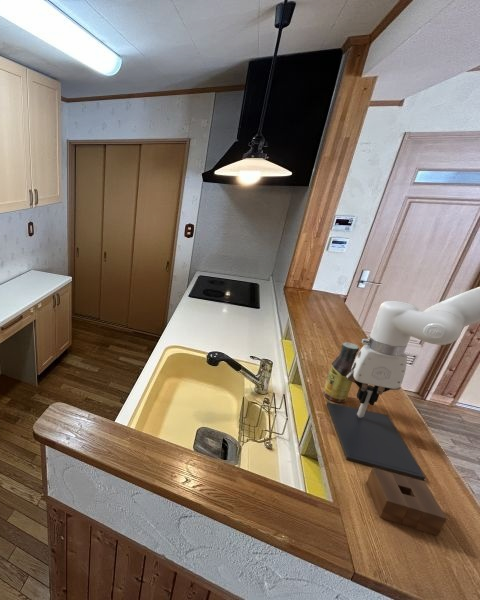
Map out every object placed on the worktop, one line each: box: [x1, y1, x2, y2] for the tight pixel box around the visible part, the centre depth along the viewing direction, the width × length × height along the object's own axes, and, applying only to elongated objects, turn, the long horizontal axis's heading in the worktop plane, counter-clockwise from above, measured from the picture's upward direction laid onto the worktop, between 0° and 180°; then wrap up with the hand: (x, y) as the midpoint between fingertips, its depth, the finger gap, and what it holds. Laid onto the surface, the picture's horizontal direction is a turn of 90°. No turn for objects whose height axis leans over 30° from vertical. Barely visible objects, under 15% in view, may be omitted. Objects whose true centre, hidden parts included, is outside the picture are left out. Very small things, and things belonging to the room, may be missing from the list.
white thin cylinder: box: [357, 384, 374, 418], centre depth 94 cm, size 2×2×11 cm
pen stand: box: [365, 467, 448, 537], centre depth 70 cm, size 9×9×5 cm
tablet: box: [325, 401, 426, 482], centre depth 90 cm, size 15×24×1 cm, turn 154°
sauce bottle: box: [323, 341, 360, 403], centre depth 103 cm, size 6×6×20 cm
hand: (365, 401), depth 94 cm, fingers closed on white thin cylinder, 1 cm apart
